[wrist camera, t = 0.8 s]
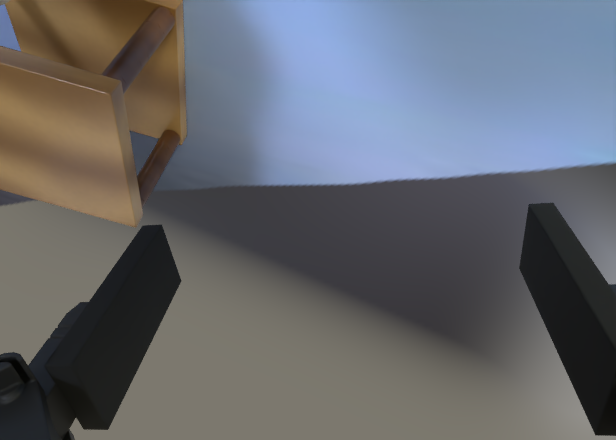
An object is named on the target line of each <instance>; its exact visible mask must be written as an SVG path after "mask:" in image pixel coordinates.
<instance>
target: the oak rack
mask: <svg viewBox="0 0 616 440" xmlns="http://www.w3.org/2000/svg"><path fill="white" fill-rule="evenodd" d="M5 6H6V9H7V12H8V15H9V17H10V20H11V23H12V26H13V29H14V32H15V35H16V37H17V40H18V43H19V46H20V49H21V52H20V51H16V50H13V49H10V48H6V47H3V46H0V190H4V191H7V192H11V193H14V194H18V195H21V196H25V197H29V198H32V199H36V200H39V201H43V202H46V203H50V204H53V205H57V206H60V207H64V208H68V209H71V210H75V211H79V212H82V213H85V214H89V215H92V216H96V217H100V218H103V219H107V220H110V221H114V222H117V223H121V224H125V225H128V226H132V227H137V225H138V223H139V222H140V220H141V218H142V216H143V211H142V209H143V207H144V205H145V203H146V201H147V200H148V198H149V196H150V194H151V193H152V191H153V189H154V187H155V185H156V184H157V182H158V180H159V178H160V176H161V175H162V173H163V171H164V169H165V167H166V166H167V164H168V162H169V160H170V158H171V157H172V155H173V153H174V151H175V149H176V148H177V146H178V144H179V145H182V144H183V142H184V140H185V138H186V136H187V123H186V89H185V55H184V22H183V0H10V1H9V2H8V3H6V4H5ZM129 130H130V131H133V132H137V133H140V134H144V135H147V136H151V137H154V138H158V139H159V140H158V142H157V143H156V145H155V147H154V148H153V150H152V152H151V153H150V155H149V157H148V158H147V160H146V162H145V163H144V165H143V167H142V168H141V170H140V172H139V173H138V175H137V174H136V168H135V162H134V156H133V150H132V144H131V138H130V131H129Z"/></svg>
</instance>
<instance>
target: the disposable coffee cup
mask: <svg viewBox="0 0 616 440" xmlns="http://www.w3.org/2000/svg"><path fill="white" fill-rule="evenodd" d="M9 1H10V0H0V5H3V4H6V3H8V2H9Z"/></svg>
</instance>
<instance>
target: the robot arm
mask: <svg viewBox="0 0 616 440" xmlns="http://www.w3.org/2000/svg"><path fill="white" fill-rule="evenodd" d="M520 271H521V273H522V275H523V277H524V280H525V282H526V284H527V286H528V288H529V291H530V293H531V295H532V297H533V299H534V301H535V304H536V306H537V308H538V310H539V312H540V315H541V317H542V319H543V321H544V323H545V325H546V328H547V330H548V332H549V334H550V337H551V339H552V341H553V343H554V345H555V348H556V349H557V352H558V354H559V356H560V358H561V361H562V363H563V365H564V367H565V369H566V372H567V374H568V376H569V378H570V380H571V382H572V385H573V387H574V389H575V391H576V394H577V396H578V398H579V400H580V402H581V404H582V407H583V409H584V411H585V413H586V415H587V417H588V420H589V422H590V424H591V426H592V428H593V431H594V433H595V435H610V436H611V435H613V436H616V285H609V284H608V283H607V281H606V280H605V278H604V277H603V276H602V274H601V273H600V271H599V270H598V268H597V267H596V265H595V264H594V262H593V261H592V259H591V258H590V256H589V255H588V253H587V252H586V251H585V249H584V248H583V246H582V245H581V243H580V242H579V241H578V239H577V237H576V236H575V234H574V233H573V231H572V230H571V228H570V227H569V226H568V224H567V223H566V221H565V220H564V218H563V217H562V215H561V214H560V212H559V211H558V209H557V208H556V206H555V205H554V203H541V204H529V207H528V214H527V221H526V227H525V234H524V241H523V248H522V254H521V261H520ZM180 282H181V279H180V276H179V273H178V270H177V267H176V264H175V261H174V259H173V256H172V253H171V250H170V247H169V244H168V241H167V238H166V235H165V233H164V230H163V227H162V225H147V226H142V228H141V229H140V231H139V232H138V233H137V235H136V236H135V237H134V239H133V240H132V242H131V243H130V245H129V246H128V247H127V249H126V250H125V252H124V253H123V255H122V256H121V257H120V259H119V260H118V262H117V263H116V264H115V266H114V267H113V269H112V270H111V272H110V273H109V274H108V276H107V277H106V279H105V280H104V282H103V283H102V284H101V286H100V287H99V289H98V290H97V291H96V293H95V294H94V296H93V297H92V298H91V300H90V301H89V302H80V303H79V304H78V305H77V306H76V307H74V308H73V309H72V310H71V311H70V312H68V313H67V314H66V315H65V317H64V318H63V319H62V321H61V322H60V323H59V325H58V328H56V329H55V330H54V332H53V333H52V334H51V337H50V338H49V339H48V340H47V341H46V342H45V344H44V345H43V347H42V348H41V349H40V350H39V352H38V353H37V354H36V356H35V357H34V359H33V360H32V361H31V363H30V364H29V365H27V364H26V362H25V361H24V359H23V358H22V356H21V355H20V354H18V353H14V352H13V353H4V354H1V355H0V440H75V439H74V436H73V434H72V433H71V431H70V429H69V428H70V427H71V425H72V423H73V421H74V419H75V418H77V419H78V421H79V422H80V424H81V426H82V427H83V429H98V430H100V429H101V430H108V429H109V427H110V425H111V423H112V421H113V419H114V417H115V414H116V412H117V411H118V408H119V406H120V404H121V402H122V400H123V398H124V396H125V394H126V392H127V390H128V388H129V386H130V384H131V382H132V380H133V378H134V376H135V374H136V372H137V370H138V368H139V366H140V364H141V362H142V360H143V357H144V356H145V354H146V352H147V349H148V347H149V345H150V343H151V341H152V339H153V337H154V335H155V333H156V331H157V329H158V327H159V325H160V323H161V321H162V319H163V317H164V315H165V313H166V311H167V309H168V307H169V305H170V303H171V301H172V299H173V297H174V295H175V293H176V290H177V289H178V287H179V285H180Z"/></svg>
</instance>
